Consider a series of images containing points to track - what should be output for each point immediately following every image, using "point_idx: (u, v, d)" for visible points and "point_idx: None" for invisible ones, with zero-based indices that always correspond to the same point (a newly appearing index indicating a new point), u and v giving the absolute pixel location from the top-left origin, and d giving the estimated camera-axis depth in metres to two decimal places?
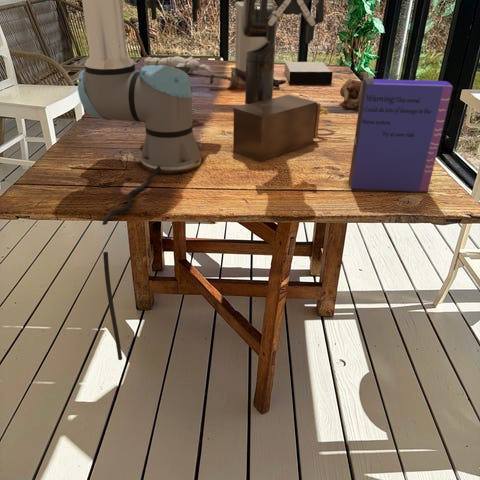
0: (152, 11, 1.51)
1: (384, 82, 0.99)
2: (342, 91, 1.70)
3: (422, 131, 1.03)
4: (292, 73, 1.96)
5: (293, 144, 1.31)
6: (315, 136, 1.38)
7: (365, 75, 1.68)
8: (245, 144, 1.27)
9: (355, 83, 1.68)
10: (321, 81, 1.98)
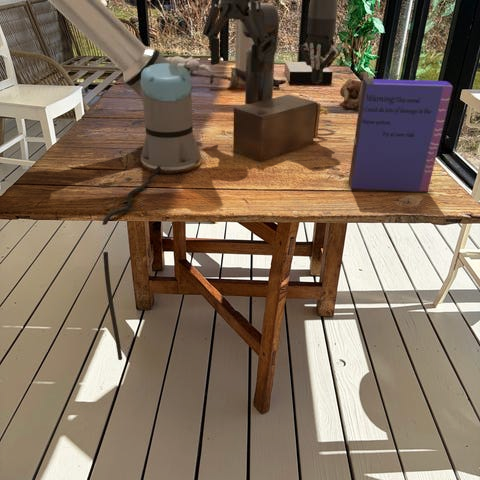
0: (212, 55, 1.30)
1: (384, 82, 0.99)
2: (342, 91, 1.70)
3: (422, 131, 1.03)
4: (292, 73, 1.96)
5: (293, 144, 1.31)
6: (315, 136, 1.38)
7: (365, 75, 1.68)
8: (245, 144, 1.27)
9: (355, 83, 1.68)
10: (321, 81, 1.98)
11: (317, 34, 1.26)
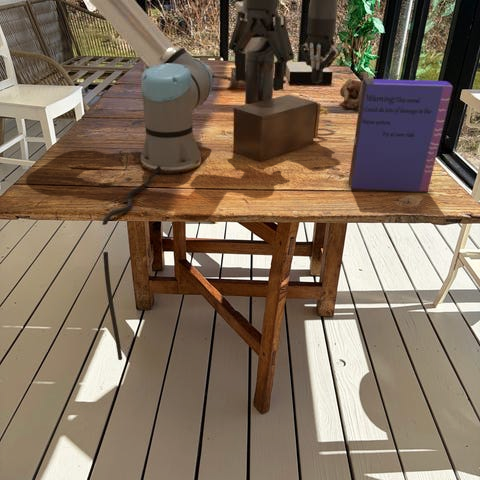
0: (237, 70, 1.23)
1: (384, 82, 0.99)
2: (342, 91, 1.70)
3: (422, 131, 1.03)
4: (292, 73, 1.96)
5: (293, 144, 1.31)
6: (315, 136, 1.38)
7: (365, 75, 1.68)
8: (245, 144, 1.27)
9: (355, 83, 1.68)
10: (321, 81, 1.98)
11: (317, 34, 1.26)
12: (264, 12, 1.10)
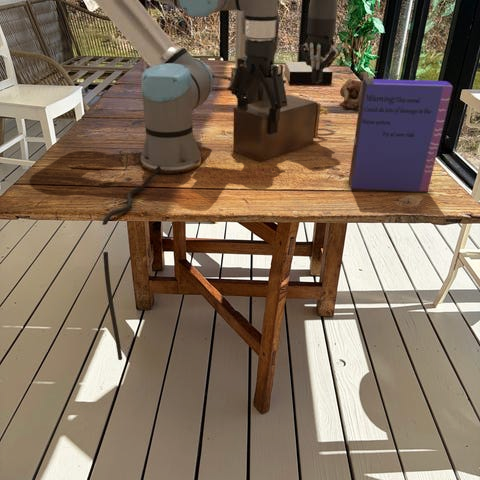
0: None
1: (384, 82, 0.99)
2: (342, 91, 1.70)
3: (422, 131, 1.03)
4: (292, 73, 1.96)
5: (293, 144, 1.31)
6: (315, 136, 1.38)
7: (365, 75, 1.68)
8: (245, 144, 1.27)
9: (355, 83, 1.68)
10: (321, 81, 1.98)
11: (317, 34, 1.26)
12: (262, 59, 1.15)
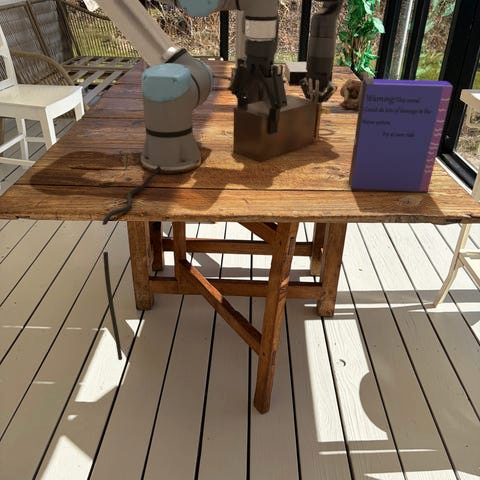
0: None
1: (384, 82, 0.99)
2: (342, 91, 1.70)
3: (422, 131, 1.03)
4: (292, 73, 1.96)
5: (293, 144, 1.31)
6: (316, 136, 1.38)
7: (365, 75, 1.68)
8: (245, 144, 1.27)
9: (355, 83, 1.68)
10: None
11: (315, 71, 1.32)
12: (262, 59, 1.15)
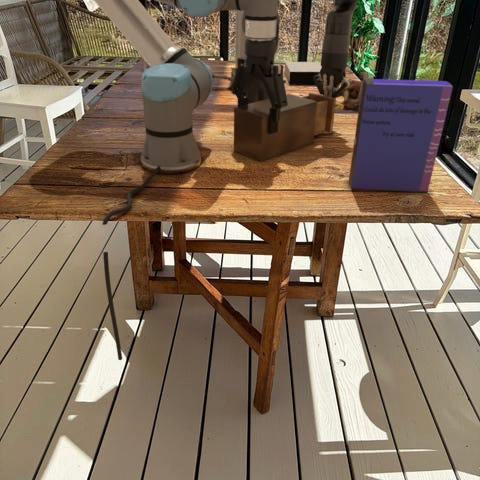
0: None
1: (384, 82, 0.99)
2: None
3: (422, 131, 1.03)
4: (292, 73, 1.96)
5: (293, 143, 1.31)
6: (330, 130, 1.42)
7: (365, 75, 1.68)
8: (246, 144, 1.27)
9: (355, 83, 1.68)
10: None
11: (330, 67, 1.35)
12: (262, 59, 1.16)
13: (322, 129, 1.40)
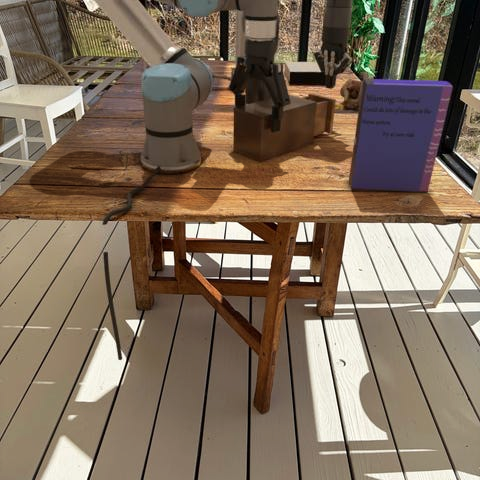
0: None
1: (384, 82, 0.99)
2: (342, 91, 1.70)
3: (422, 131, 1.03)
4: (292, 73, 1.96)
5: (293, 144, 1.31)
6: (330, 131, 1.42)
7: (365, 75, 1.68)
8: (245, 144, 1.27)
9: (355, 83, 1.68)
10: (321, 81, 1.98)
11: (331, 42, 1.31)
12: (262, 59, 1.15)
13: (322, 130, 1.40)
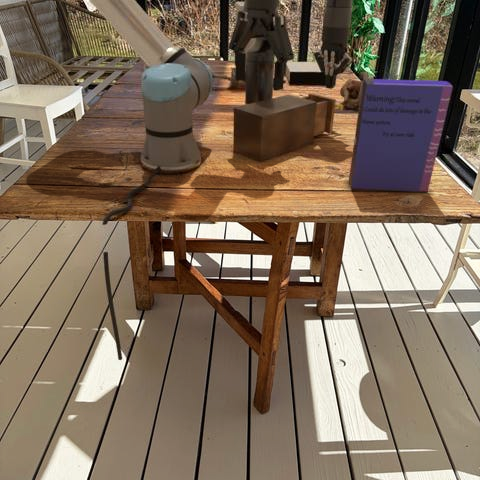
0: (237, 70, 1.23)
1: (384, 82, 0.99)
2: (342, 91, 1.70)
3: (422, 131, 1.03)
4: (292, 73, 1.96)
5: (293, 144, 1.31)
6: (330, 131, 1.42)
7: (365, 75, 1.68)
8: (245, 144, 1.27)
9: (355, 83, 1.68)
10: (321, 81, 1.98)
11: (331, 42, 1.31)
12: (264, 12, 1.10)
13: (322, 130, 1.40)
